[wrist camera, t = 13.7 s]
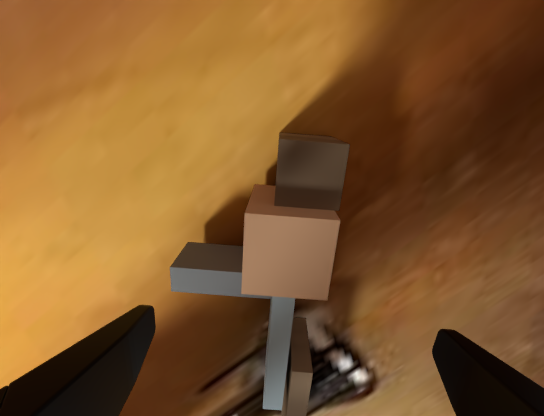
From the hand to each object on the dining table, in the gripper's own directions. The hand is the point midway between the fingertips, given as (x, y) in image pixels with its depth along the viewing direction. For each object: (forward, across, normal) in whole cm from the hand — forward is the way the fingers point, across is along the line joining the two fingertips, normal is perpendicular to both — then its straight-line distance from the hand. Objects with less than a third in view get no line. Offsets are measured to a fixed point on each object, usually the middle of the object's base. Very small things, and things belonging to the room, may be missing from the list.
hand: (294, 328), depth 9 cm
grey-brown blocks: (+9, -1, +5) cm, 11 cm away
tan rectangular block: (+9, 0, 0) cm, 9 cm away
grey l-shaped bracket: (+9, +3, +6) cm, 12 cm away
